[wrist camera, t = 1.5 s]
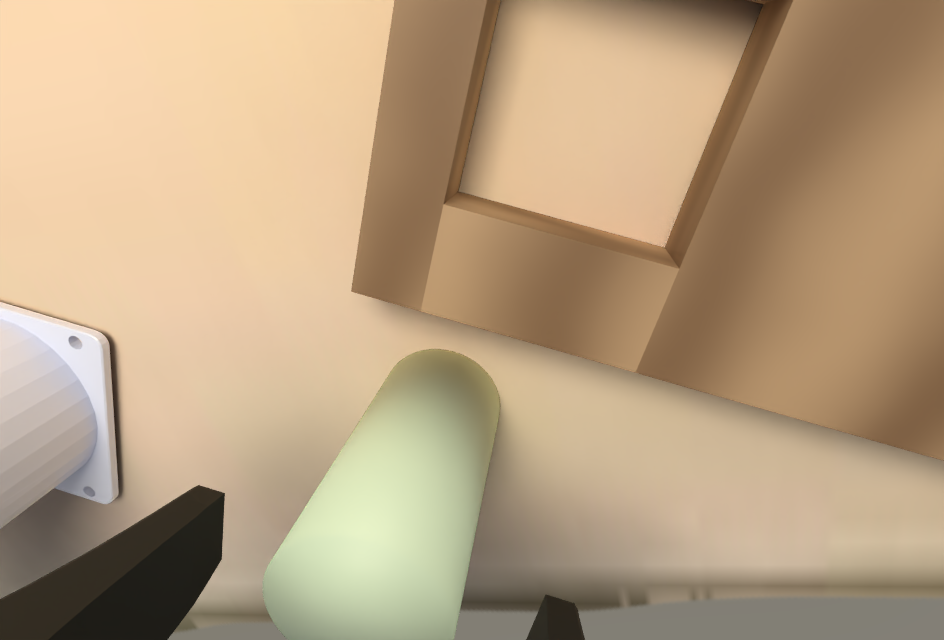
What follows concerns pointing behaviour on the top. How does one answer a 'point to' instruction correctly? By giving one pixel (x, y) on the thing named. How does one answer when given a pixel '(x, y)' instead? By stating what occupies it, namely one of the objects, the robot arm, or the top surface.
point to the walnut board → (703, 222)
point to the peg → (393, 512)
